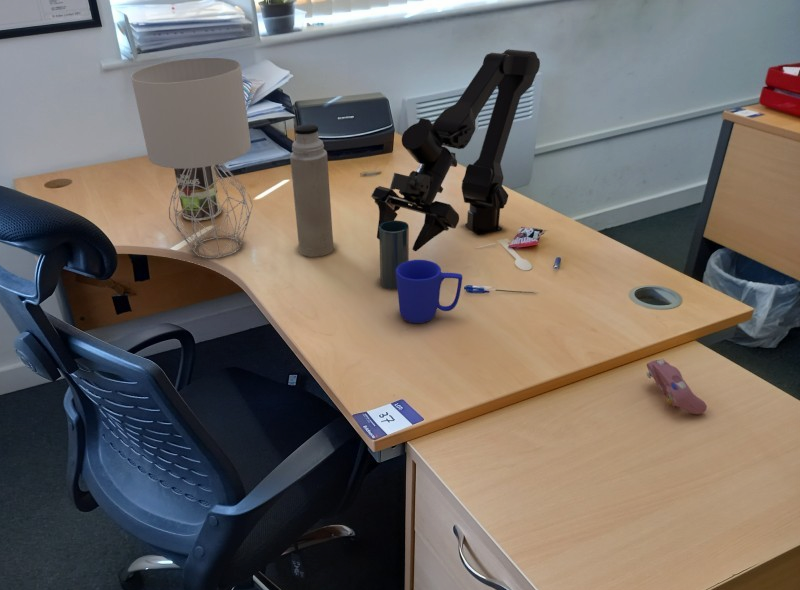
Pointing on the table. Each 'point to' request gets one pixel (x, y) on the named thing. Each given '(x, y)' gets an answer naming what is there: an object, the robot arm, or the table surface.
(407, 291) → the mug
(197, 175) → the coffee can
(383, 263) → the pencil cup
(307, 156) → the thermos bottle
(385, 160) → the table surface
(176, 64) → the table lamp
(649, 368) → the toy shoe
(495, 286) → the table surface
